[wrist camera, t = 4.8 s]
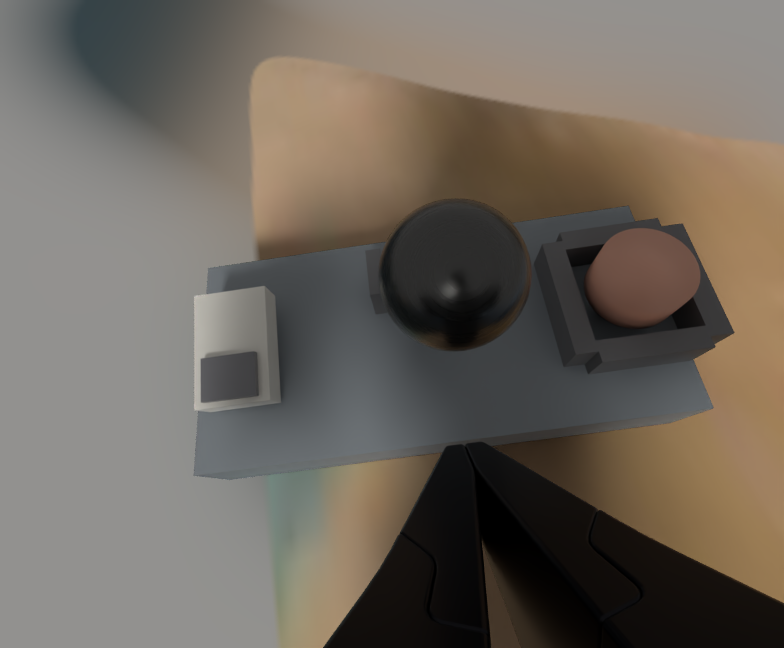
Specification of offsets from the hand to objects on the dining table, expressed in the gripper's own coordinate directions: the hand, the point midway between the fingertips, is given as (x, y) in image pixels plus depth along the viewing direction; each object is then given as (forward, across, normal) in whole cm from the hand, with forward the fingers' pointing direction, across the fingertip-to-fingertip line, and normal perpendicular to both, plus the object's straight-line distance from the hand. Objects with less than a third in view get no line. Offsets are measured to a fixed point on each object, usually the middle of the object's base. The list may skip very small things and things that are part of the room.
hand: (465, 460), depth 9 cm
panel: (+10, 0, -2) cm, 11 cm away
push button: (+8, +7, +1) cm, 11 cm away
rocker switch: (+8, -8, 0) cm, 11 cm away
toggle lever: (+10, 0, +1) cm, 10 cm away
